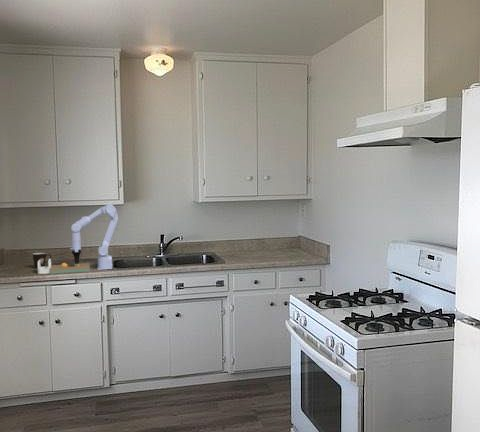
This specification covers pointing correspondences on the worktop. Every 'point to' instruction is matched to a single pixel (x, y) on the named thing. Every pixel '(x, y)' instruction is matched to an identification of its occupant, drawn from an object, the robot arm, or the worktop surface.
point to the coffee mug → (39, 257)
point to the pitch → (62, 268)
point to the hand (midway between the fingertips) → (76, 261)
